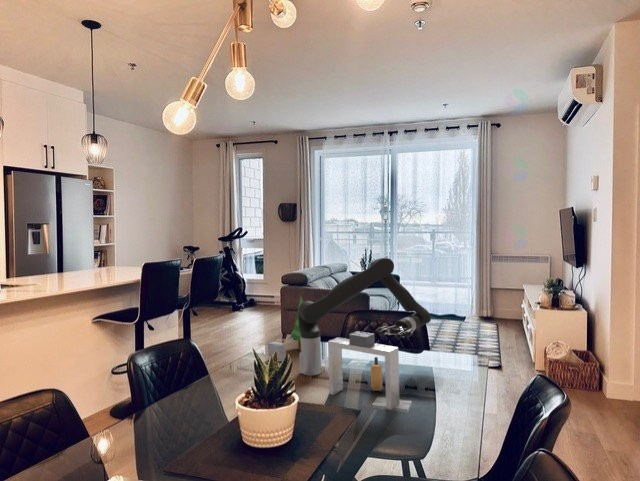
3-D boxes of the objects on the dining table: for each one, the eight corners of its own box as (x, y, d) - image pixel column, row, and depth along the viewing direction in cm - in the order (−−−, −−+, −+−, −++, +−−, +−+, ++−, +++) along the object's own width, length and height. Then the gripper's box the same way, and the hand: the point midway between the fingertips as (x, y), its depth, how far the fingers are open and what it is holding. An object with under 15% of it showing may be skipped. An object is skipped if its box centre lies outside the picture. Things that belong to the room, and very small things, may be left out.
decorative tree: (311, 353, 241) (309, 297, 239) (284, 351, 246) (282, 296, 244) (320, 346, 253) (318, 293, 252) (294, 344, 259) (293, 292, 257)
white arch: (329, 394, 185) (327, 331, 184) (338, 388, 191) (337, 327, 189) (390, 409, 169) (389, 341, 167) (399, 403, 174) (398, 336, 173)
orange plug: (369, 390, 187) (368, 358, 187) (373, 386, 192) (372, 354, 191) (380, 392, 185) (379, 359, 185) (383, 388, 190) (383, 356, 189)
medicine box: (285, 359, 231) (285, 343, 231) (280, 362, 227) (279, 345, 227) (273, 357, 235) (273, 341, 235) (268, 360, 232) (267, 343, 231)
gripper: (390, 317, 213) (373, 325, 200) (419, 320, 205) (403, 328, 192) (391, 332, 214) (374, 341, 201) (419, 336, 205) (403, 346, 192)
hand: (388, 335), depth 196 cm, fingers open, 8 cm apart
